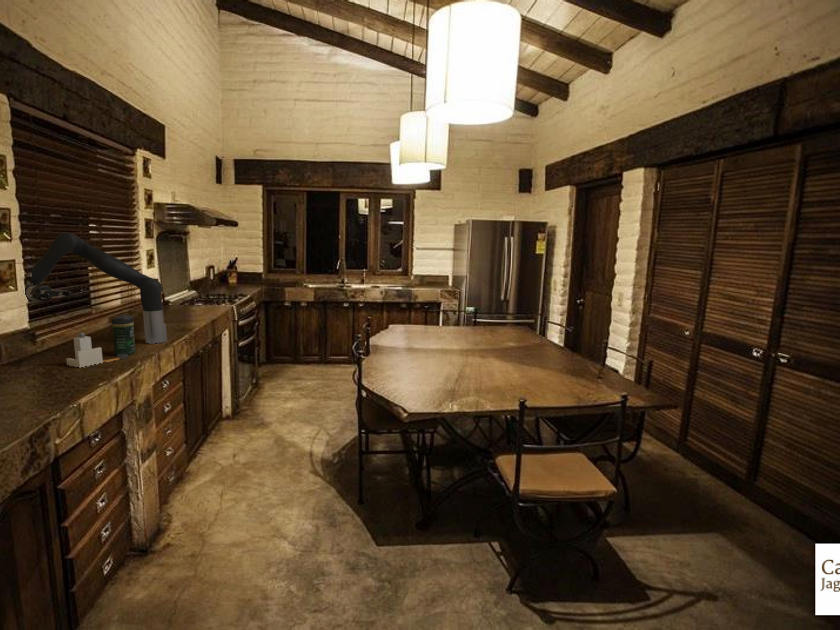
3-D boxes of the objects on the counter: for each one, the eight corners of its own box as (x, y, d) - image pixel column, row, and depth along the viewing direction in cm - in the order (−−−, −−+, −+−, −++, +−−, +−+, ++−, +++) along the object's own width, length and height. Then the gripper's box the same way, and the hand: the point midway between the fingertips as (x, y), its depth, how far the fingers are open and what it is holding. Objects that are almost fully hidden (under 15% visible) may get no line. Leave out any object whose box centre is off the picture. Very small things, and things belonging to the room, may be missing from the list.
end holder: (90, 360, 215) (88, 345, 214) (102, 363, 211) (101, 347, 210) (67, 365, 207) (65, 349, 206) (79, 368, 203) (78, 352, 201)
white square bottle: (87, 362, 212) (84, 331, 210) (93, 363, 210) (90, 332, 208) (76, 364, 208) (73, 333, 206) (82, 365, 206) (79, 334, 204)
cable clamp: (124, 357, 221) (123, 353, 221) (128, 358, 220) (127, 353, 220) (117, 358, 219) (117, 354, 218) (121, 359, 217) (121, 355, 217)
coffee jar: (130, 356, 224) (127, 317, 221) (112, 356, 223) (108, 317, 220) (138, 351, 233) (135, 313, 230) (121, 351, 232) (117, 314, 229)
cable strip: (114, 357, 220) (114, 356, 220) (121, 359, 218) (121, 357, 218) (92, 362, 212) (92, 361, 212) (99, 363, 209) (99, 362, 209)
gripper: (20, 286, 215) (40, 288, 208) (55, 283, 228) (75, 285, 221) (22, 303, 217) (42, 305, 210) (57, 299, 229) (77, 301, 222)
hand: (59, 295), depth 215 cm, fingers open, 8 cm apart
